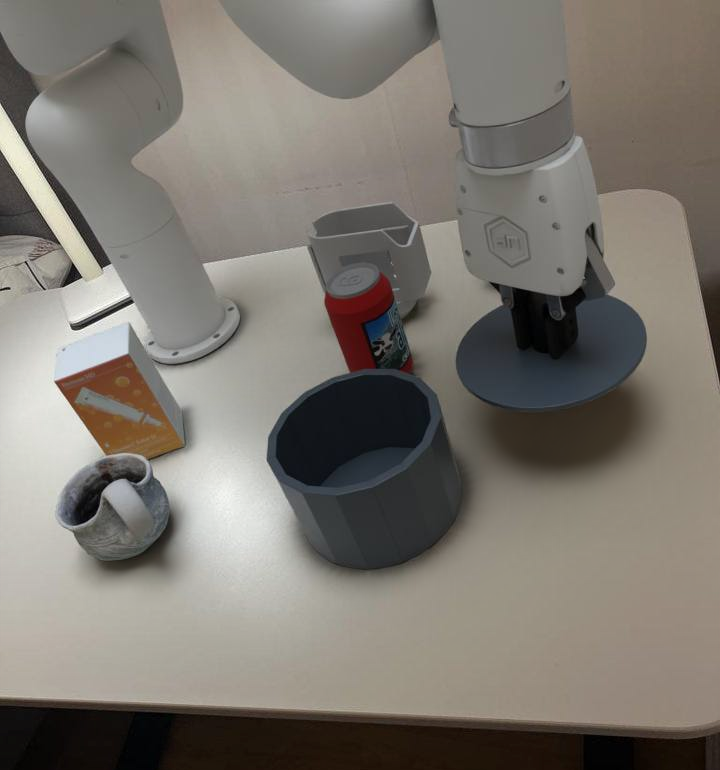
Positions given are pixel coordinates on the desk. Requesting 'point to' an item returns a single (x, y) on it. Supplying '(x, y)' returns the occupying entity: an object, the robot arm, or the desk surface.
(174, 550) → the desk surface
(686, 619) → the desk surface
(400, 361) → the beverage can
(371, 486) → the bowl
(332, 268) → the cable organizer
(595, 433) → the desk surface
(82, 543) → the mug
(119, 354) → the small box
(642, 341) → the lid
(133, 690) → the desk surface
